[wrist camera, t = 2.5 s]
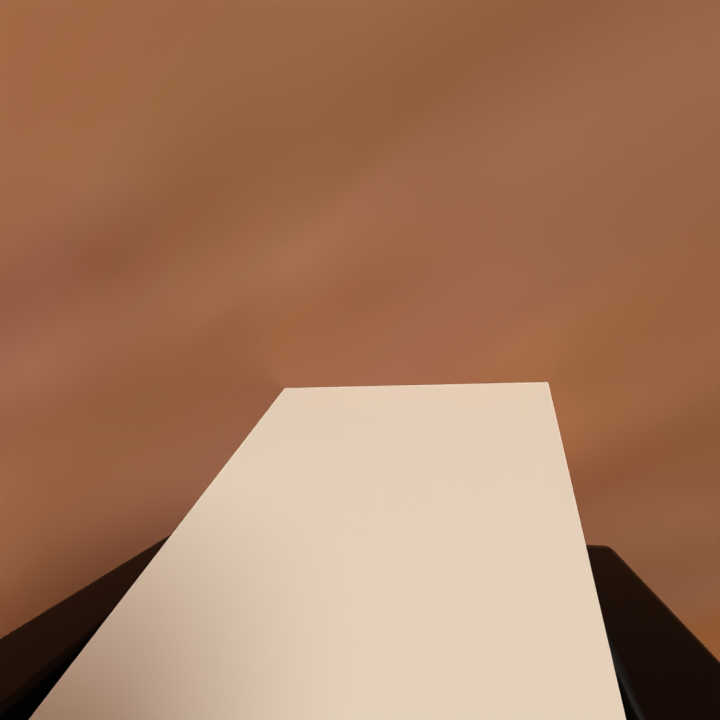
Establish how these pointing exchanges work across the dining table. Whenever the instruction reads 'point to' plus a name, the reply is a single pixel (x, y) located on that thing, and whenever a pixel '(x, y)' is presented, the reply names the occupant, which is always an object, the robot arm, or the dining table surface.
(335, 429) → the domino
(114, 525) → the dining table surface
